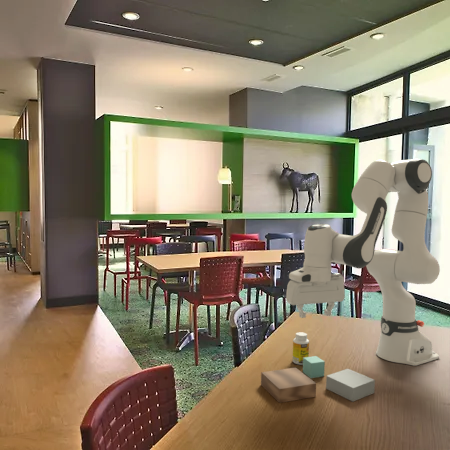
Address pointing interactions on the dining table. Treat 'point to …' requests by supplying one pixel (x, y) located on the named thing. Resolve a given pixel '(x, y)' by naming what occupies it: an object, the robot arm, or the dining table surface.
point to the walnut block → (288, 384)
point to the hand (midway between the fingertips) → (315, 316)
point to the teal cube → (313, 366)
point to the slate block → (350, 384)
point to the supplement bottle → (300, 348)
